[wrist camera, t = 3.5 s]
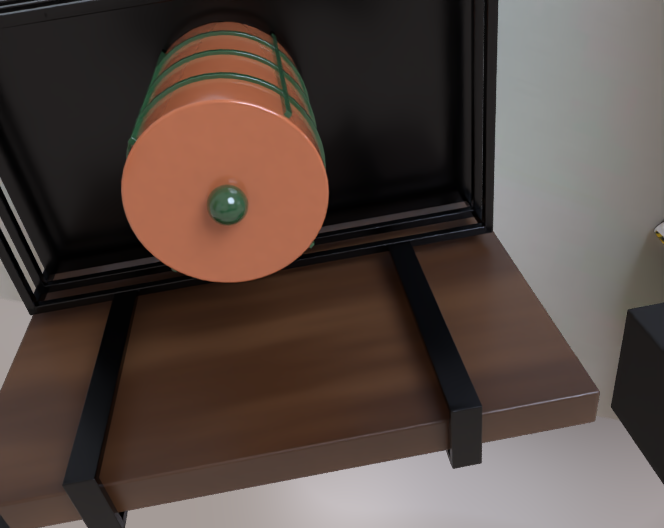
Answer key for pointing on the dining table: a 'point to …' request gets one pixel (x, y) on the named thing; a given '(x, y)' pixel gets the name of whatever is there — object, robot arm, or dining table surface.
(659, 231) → the medicine bottle
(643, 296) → the dining table surface
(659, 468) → the robot arm
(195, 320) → the rack
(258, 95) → the jar
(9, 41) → the basket
